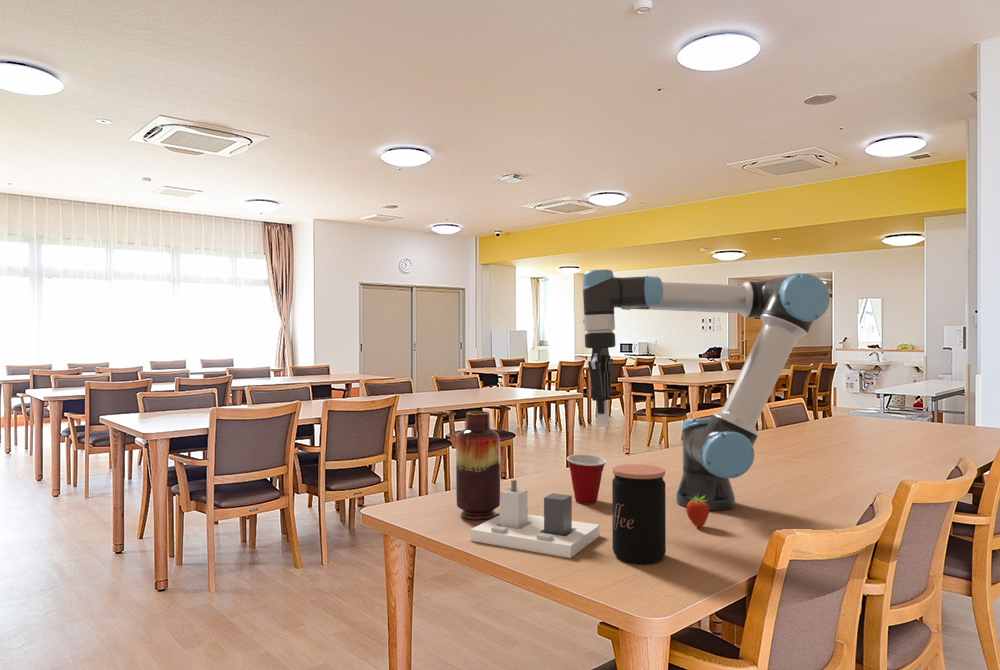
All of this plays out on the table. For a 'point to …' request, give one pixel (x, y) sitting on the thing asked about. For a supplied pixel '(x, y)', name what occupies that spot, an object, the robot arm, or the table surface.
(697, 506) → the fruit
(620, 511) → the coffee jar
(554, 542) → the white peg board
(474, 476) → the vase
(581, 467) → the plastic cup
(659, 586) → the table surface
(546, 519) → the dark grey block
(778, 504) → the table surface
